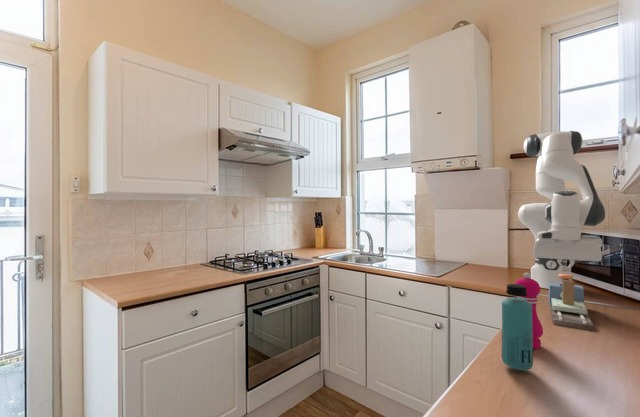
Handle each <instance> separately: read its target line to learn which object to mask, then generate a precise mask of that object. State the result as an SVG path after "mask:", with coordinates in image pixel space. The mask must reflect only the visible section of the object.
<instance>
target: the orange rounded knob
mask: <svg viewBox="0 0 640 417" xmlns="http://www.w3.org/2000/svg"><path fill="white" fill-rule="evenodd" d="M558 277H559V278H562V286H563V280H570V279H571V280H574V275H572V274H571V275H569V274H558Z"/></svg>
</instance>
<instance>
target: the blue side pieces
mask: <svg viewBox="0 0 640 417" xmlns="http://www.w3.org/2000/svg"><path fill="white" fill-rule="evenodd" d="M551 298H555V299H563V286H562V284H560V283H550V282H549V289H548V305H549V306H550V303H552V302H551ZM574 301H579V302H583V303H584V304H585V289H584V287H583V285H577V284H574Z"/></svg>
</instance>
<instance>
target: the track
mask: <svg viewBox="0 0 640 417" xmlns="http://www.w3.org/2000/svg"><path fill="white" fill-rule="evenodd" d="M549 311H550V316H551V319H552V320H551V321H552V324H553V325H557V326H563V327H570V328H576V329H581V330H587V331H594V330H595V328H594V327H595V326H594V324H593V322H592V320H591V318H590V317H589V314H588V313H587V314H580V313H573V312H566V311H559V310H553V306H552V303H550V307H549Z"/></svg>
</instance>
